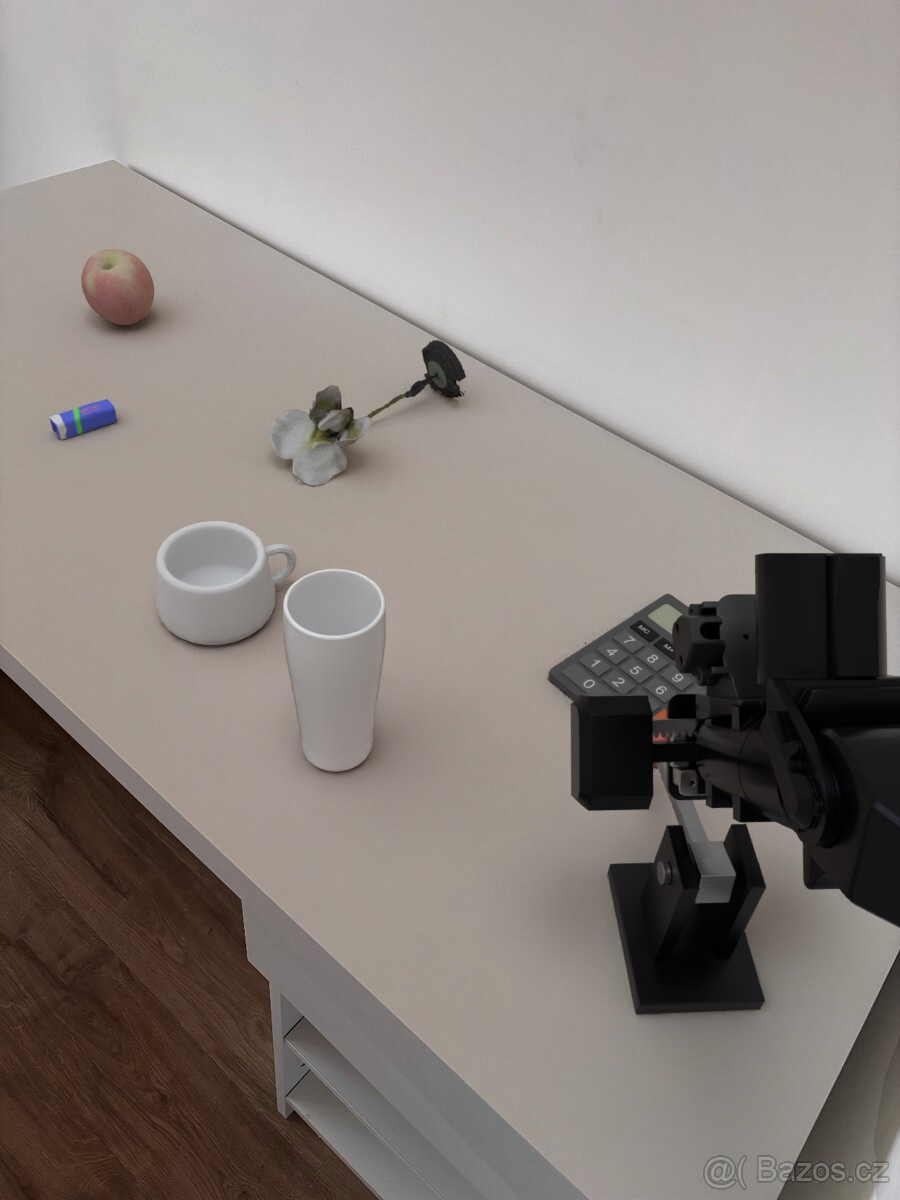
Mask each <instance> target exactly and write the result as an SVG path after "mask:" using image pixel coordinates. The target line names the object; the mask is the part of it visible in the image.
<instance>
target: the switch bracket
mask: <svg viewBox="0 0 900 1200" xmlns="http://www.w3.org/2000/svg"><path fill="white" fill-rule="evenodd" d="M723 843H724V845H725V848H726V850H727V852H728V855H729V857H730V860H731V862H732V864H733V867H734V869H735V872H736V874H737V876H736V879H735V883H734V887H733V891H732V894H731V898H730V902H728V903H697V904H695V903H694V901H695V899H696V897H697V894H698V892H699V890H700V888H699V885H698V881H697V877H696V873H695V870H694V866H693V862H692V858H691V855H690V851H689V847H688V843H687V840H686V836H685V832H684V829H683V825H679V824H668V825H666V827H665V829H664V832H663V835H662V838H661V840H660V844H659V846H658V850H657V852H656V855H655V857H654V860H653V862H624V863H623V862H622V863H621V862H619V863H610V864H609V867H608V870H607V877H608V882H609V888H610V893H611V898H612V903H613V908H614V912H615V918H616V923H617V928H618V933H619V937H620V942H621V947H622V952H623V958H624V962H625V968H626V972H627V978H628V983H629V987H630V992H631V998H632V1002H633V1008H634V1013H635V1015H651V1014H674V1013H676V1014H678V1013H702V1012H703V1013H705V1012H725V1011H726V1012H727V1011H753V1010H761V1009H762V1007H763V1006H764V1004H765V1002H766V999H765V995H764V992H763V987H762V985H761V982H760V979H759V975H758V971H757V968H756V965H755V961H754V957H753V955H752V950H751V947H750V943H749V940H748V938H747V934H746V931H745V930H746V928H747V927H748V925H749V923H750V921H751V919H752V916H753V915H754V913H755V911H756V909H757V907H758V905H759V903H760V902H761V899H762V897H763V895H764V893H765V891H766V890H767V884H766V881H765V878H764V874H763V872H762V868H761V865H760V862H759V859H758V856H757V853H756V850H755V847H754V843H753V840H752V836H751V834H750V831H749V828H748V825H747V823H731V824H730V826H729V829H728V830H727V833H726V836H725V837H724V840H723Z"/></svg>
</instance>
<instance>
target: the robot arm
mask: <svg viewBox="0 0 900 1200" xmlns="http://www.w3.org/2000/svg"><path fill="white" fill-rule="evenodd" d="M886 558H887V557H886V556H885V555H883V552H882V553H881V552H764V553H757V554H755V555H754V588H755V589H754V593H740V594H739V593H732V594H726V595H724V596H723V597H721V598H720V599H719V600H712V601H711V600H710V601H709V600H707V601H706V600H705V601H701V603H690V604H689V605H688V607H689V609H688V615H680V616H679V618H678V619H677V620H676V621H675V622H674V624H673V628H672V638H673V646H674V655H675V663H676V668H677V670H678V671H679V672H680V673H691V674H693V675H695V677H696V680H697V684H698V685H699V686H706V694H677V695H674V696H673V697H672V698H671V699H670V700H669V702H668V705H667V709H666V719H653V713H652V709H651V705H650V702H649V698H648V696H647V695H643V694H580V695H579V696H578V697H577V698H576V699H575V700H573V701H572V702H571V703H570V795H571V797H572V798H573V799H574V800H575V801H576V802H577V803H578V804H579V805H580V806H582V807H583V808H584V809H585V810H587V811H588V812H596V811H597V812H598V811H599V812H601V811H603V812H604V811H605V812H607V811H644V810H645V811H646V810H650V808H651V805H652V801H653V798H654V767H653V763H654V762H666V766H667V791H668V793H669V794H670V795H671V796H672V797H673V798H674V799H676V800H692V801H705V806H706V807H708V808H710V809H732V819H733V820H734V821H735V822H738V823H739V824H747V823H748V824H749V823H777V824H779V825H781V826H783V827H784V828H787V829H789V830H792V831H793V832H794V833H795V834H796V837H798V839H799V841H800V842H801V843H802V876H803V877H802V881H803V885H804V887H805V888H806V889H807V890H810V891H818V890H819V891H820V890H839V891H840V892H841V894H843V895H844V897H845V898H846V899H847V900H848V901H849V902H850V903H851V904H852V905H854V906H856V907H857V908H860V909H862V910H864V911H866V912H867V913H870V914H871V915H873V916H875V917H877V918H879V919H882V920H883V921H884V922H887V923H889V924H891V925H893V926H895V927H897V928H898V929H900V675H893V674H888V631H887V630H888V627H887V624H888V623H887V560H886ZM659 733H660V736H661V737H662V738H665V735H666V741H653V736H654V737H655V738H658V735H659ZM667 791H666V792H667Z"/></svg>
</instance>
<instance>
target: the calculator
mask: <svg viewBox="0 0 900 1200" xmlns="http://www.w3.org/2000/svg"><path fill="white" fill-rule="evenodd" d="M688 609H689V605H687V604H685V603H684V602H682V601H681V600H679V599H678V598H677V597H675V596H674V595H672V594H671V593H665V594H663V595H661V596H660V597H659V598H657V599H655V600H653V602H650V603H649V604H648V605H646V606H645V607H643V608H642V609H640V610H638V611H636V612H635V613H633V614H632V615H631V616H629V617H628V618H626V619H625V620H622V622H620V623H618V624H617V625H616V626H614V627H613V628H611V629H609V630H607V631H606V632H604V633H603V634H602V635H600V636H598V637H597V638H595V639H594V640H592V641H591V642H589V643H588V644H586V645H585V646H583V647H581V648H580V649H579V650H577V651H576V652H574V653H572V654H570V656H568V657H566V658H564V660H561V661H560V662H558V663H557V664H555V665H554V666H553V667H551V668H550V669H549V671H548V675H547V679H548V680H549V681H550V682H551V683H552V684H554V685H555V686H556V687H557V688H558V689H559V690H560V691H562V692H563V693H564V694H565V695H566V696H568V697H569V698H570V699H572V700H573V701H574V700H575V699H576V698H577V697H578V696H579V695H580V694H643V695H647V696H648V698H649V702H650V705H651V709H652V713H653V719H666V709H667V705H668V702H669V700H670V699H671V698H672V697H673V696H674V695H677V694H706V686H699V685H698V684H697V680H696V677H695V675H693V674H691V673H680V672H679V671H678V670H677V668H676V663H675V655H674V646H673V638H672V628H673V624H674V622H675V621H676V620H677V619H678V618H679V616H680V615H688Z"/></svg>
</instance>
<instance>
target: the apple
mask: <svg viewBox="0 0 900 1200" xmlns="http://www.w3.org/2000/svg"><path fill="white" fill-rule="evenodd" d="M80 282H81V283H80V284H81V290H82V293H83V296H84V298H85V300H86V302H87V303H88V305H89V307H90V308H91V309H92V310H93V311H94V312H95V313H96V314H97V315H98V316H99V317H101V318H103V319H104V320H106V321H107V322H109V323H111V324H112V325H118V326H131V325H135V324H137V323H138V322H140V321H141V320H143V319H144V318H145V317H146V316H147V315H148V313H149V312H150V311H151V309H152V307H153V303H154V300H155V284H154V280H153V277H152V275H151V272H150V270H149V269H148V267H147V265H146V264H145V263H144V262H143V260H142V259H140V257H138V256H137V255H135V254H134V253H131V252H129V251H127V250H124V249H123V250H122V249H118V248H115V249H114V248H110V249H103V250H100V251H97V252H95V253H94V254H92V255H91V256H90V257H89V258H88V259H87V260H86V262H85V264H84V265H83V269H82V273H81V279H80Z"/></svg>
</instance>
